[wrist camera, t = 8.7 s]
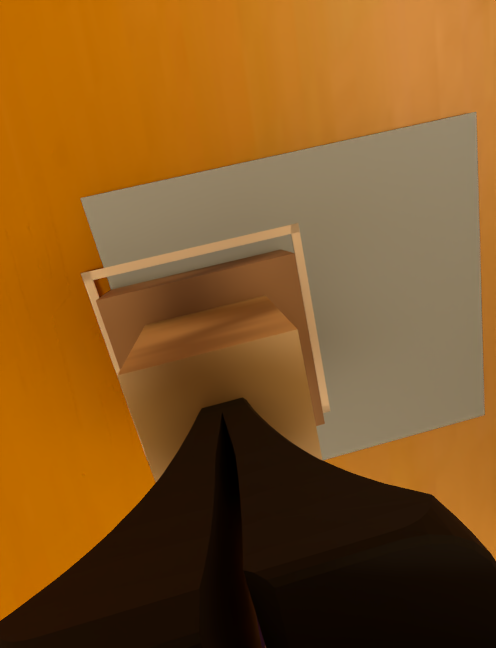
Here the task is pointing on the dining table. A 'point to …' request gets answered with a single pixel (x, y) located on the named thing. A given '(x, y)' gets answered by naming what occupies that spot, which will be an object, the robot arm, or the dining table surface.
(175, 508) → the robot arm
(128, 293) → the walnut slab
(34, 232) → the dining table surface
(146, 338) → the maple cube
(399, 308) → the grey flat panel
